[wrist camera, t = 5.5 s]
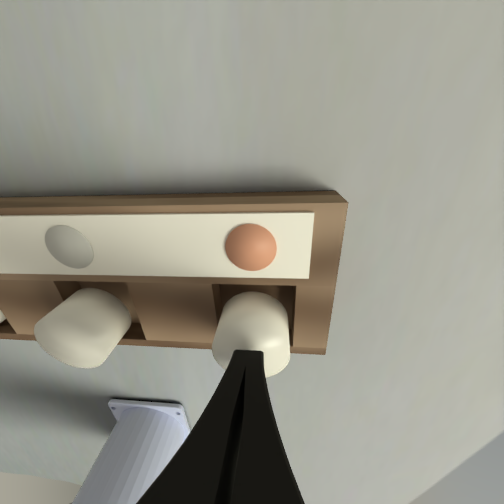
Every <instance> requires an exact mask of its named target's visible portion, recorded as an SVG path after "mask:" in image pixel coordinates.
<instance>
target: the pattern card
mask: <svg viewBox="0 0 504 504" xmlns="http://www.w3.org/2000/svg"><path fill="white" fill-rule="evenodd" d="M313 223H314V212H241V213H154V214H68V215H0V273H2V274H61V275H120V276H178V277H237V278H296V279H309V269H310V258H311V246H312V235H313Z"/></svg>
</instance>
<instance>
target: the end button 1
mask: <svg viewBox="0 0 504 504" xmlns="http://www.w3.org/2000/svg"><path fill="white" fill-rule="evenodd" d="M5 319H6V317H5V316H4V315H3V313H2V312H1V310H0V323H1V322H2V321H4V320H5Z"/></svg>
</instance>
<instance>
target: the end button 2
mask: <svg viewBox="0 0 504 504" xmlns="http://www.w3.org/2000/svg"><path fill="white" fill-rule="evenodd" d="M236 349H237V350H257V351H262V352H264V371H265V377H270V376H273V375H275V374H277V373H279V372H280V371H282V370H283V369H284V368H285V367H286V366H287V364H288V362H289V359H290V344H289V329H288V316H287V312H286V309H285V308H284V306H283V305H282V304H281V303H280V302H279V301H278V300H277V299H275V298H274V297H272V296H270V295H268V294H265V293H261V292H244V293H240V294H237V295H235V296H233V297H232V298H230V299H229V300H228V301H227V302H226V304H225V305H224V307H223V310H222V314H221V317H220V320H219V323H218V327H217V330H216V333H215V337H214V340H213V343H212V353H213V356H214V358H215V360H216V361H217V363H218V364H219V365H220V366H221V367H222V368H224V369H225V370H226V369H227V367H228V365H229V362H230V360H231V357H232V355H233V352H234V351H235V350H236Z"/></svg>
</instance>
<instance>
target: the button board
mask: <svg viewBox="0 0 504 504" xmlns="http://www.w3.org/2000/svg"><path fill="white" fill-rule="evenodd" d="M347 208H348V202H347V201H346V200H345V199H344V198H343V197H342V196H341V195H340V194H339V193H337V192H336V191H296V192H247V193H198V194H148V195H99V196H50V197H1V198H0V215H68V214H154V213H241V212H314V223H313V235H312V246H311V258H310V269H309V279H296V278H237V277H178V276H120V275H61V274H2V273H0V310H1V312H2V313H3V315H4V316H5V317H6V319H5V320H4V321H2V322H1V323H0V339H14V340H35V341H37V340H36V338H35V335H34V327H35V324H36V323H37V322H38V321H39V320H41V319H42V318H43V317H44V316H46V315H47V314H48V313H49V312H51V311H52V310H53V309H55V308H56V307H57V306H58V305H60V304H61V303H62V302H63V301H65V300H66V299H67V298H69V297H70V296H71V295H72V294H74V293H75V292H76V291H78V290H80V289H83V288H96V289H100V290H103V291H106V292H108V293H110V294H112V295H114V296H115V297H117V298H118V299H119V300H120V301H121V302H122V303H123V304H124V305H125V306H126V307H127V309H128V310H129V313H130V315H131V326H130V328H129V329H128V331H127V332H126V333H125V334H124V336H123V337H122V338H121V340H120V341H119V342H118V344H117V345H136V346H157V347H177V348H197V349H212V343H213V340H214V337H215V333H216V330H217V327H218V323H219V320H220V317H221V314H222V310H223V307H224V305H225V304H226V302H227V301H228V300H229V299H230V298H232V297H233V296H235V295H237V294H240V293H244V292H261V293H265V294H268V295H270V296H272V297H274V298H275V299H277V300H278V301H279V302H280V303H281V304H282V305H283V306H284V308H285V309H286V312H287V316H288V329H289V344H290V353H299V354H319V355H325V353H326V346H327V340H328V333H329V327H330V320H331V313H332V307H333V300H334V294H335V287H336V281H337V274H338V267H339V261H340V254H341V248H342V241H343V235H344V228H345V221H346V215H347Z"/></svg>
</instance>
